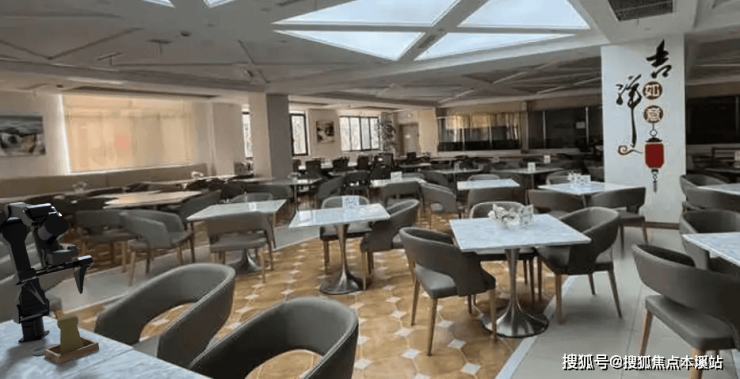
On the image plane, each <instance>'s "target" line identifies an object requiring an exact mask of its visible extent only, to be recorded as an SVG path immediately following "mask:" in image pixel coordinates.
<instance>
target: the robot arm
mask: <svg viewBox="0 0 740 379" xmlns="http://www.w3.org/2000/svg"><path fill="white" fill-rule="evenodd" d="M69 226H70V225H69V222H68V220H66V218H64V217H63V215H62V214H61V213H60V212H59V211H57V209H56V208H55V207H54V206H53V205H52V204H51V203H48V202H47V203H43V204H42V203H41V204H40V203H39V204H35V205H34V204H29V203H26V202H11V203H7V204H4V207H3V210H1V211H0V242H1V243H2V244H4V245H5V246H6V248H7V250H8V251H7V252H8V254H9V258H10V263H11V265H12V270H13V276H12V282H13V285H14V286H16V287H17V294H16V296H15V298H14V307H13V310H12V313H11V314H12V315H11V318H12V321H13V323H15V324H17V325H20V326H21V334H22V337H21V338H20V339H18V341H17V342H18V343H23V342H31V341H37V340H38V341H39V340H41V339H43V338H44V337H45V336H46V335H48V334H49V333H50V330H49V329H48V330H45V324H44V323H45V322H44V318H43V317H48V316H50V311H51V310H50V304H51V301H50V300H49V299H48V297H47V296H46V293H45V290H44V289H43V288H42V286H41V284H40V277H43V276H47V275H50V274H55V273H60V272H64V271H67V270H74V271H73V273H72V274H73V278H74V281H75V284H76V287H77V291H78V293H79V294H80V295H82V294H83V293H84V282H85V276H86V272H87V270H89V269H90V268H91V266H93V265H95V259H94V258H93V256H91V255H90V254H89V255H85V256H80V254H79V249H78V246H77V245H76V244H72V245H68V246H67V248H66V249H64V246H63V245H62V244H61V243H60V239H61V237H63V236H64V235H65V234H66V232H68V230H69V228H70V227H69ZM30 227H34V228H33V231H32V232H31V238H32V240H33V243H34V246H35V250H36V257H37V258H38V259H39V263H40V266H41V267H40V269H35V267H32V265H31V262H30V261H31V260H30V257H29V253H28V249H27V246H26V240H27V237H28V235H29V228H30ZM76 257H77V258H76ZM73 258H75V259H74V260H73Z"/></svg>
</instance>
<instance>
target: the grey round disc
mask: <svg viewBox="0 0 740 379" xmlns="http://www.w3.org/2000/svg"><path fill="white" fill-rule="evenodd" d="M59 344H60V343H51V344H47V345H46V344H45V345H43V346H40V347H37V348H36V349H34V350H33V351H32V355H33V356H37V357H38V356H39V357H40V356H45V353H44V350H45V349H47V348H50V347H53V346H56V345H59Z"/></svg>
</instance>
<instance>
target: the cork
mask: <svg viewBox="0 0 740 379" xmlns="http://www.w3.org/2000/svg"><path fill="white" fill-rule="evenodd" d="M56 325H57V328H58V329H59V330H60V333H59V334H60V335H59V336H60V337H59V338H60V339H59V342H60V343H59V344H60V352H59V355H64V354H67V353H69V352H72V351H75V350H77V349H80V348H83V347H85V345H84V344H83V343H82V340H81V337H82V336H81V334H80V330H79V327H78V325H79V317H78V315H77V314H72V313H71V314H66V315H63V316H61V317H59V318H58V319H57V322H56Z"/></svg>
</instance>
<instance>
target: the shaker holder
mask: <svg viewBox="0 0 740 379" xmlns="http://www.w3.org/2000/svg"><path fill="white" fill-rule="evenodd" d="M80 337H81V340H82V343H83V346H84V347H83V348H80V349H77V350H75V351H72V352H69V353H67V354H64V355H60V343H58V344H59V345H56V346H53V347H50V348H47V349H45V350H44V353H45V355H44V356H45V357H46V358H47V359H50V360H52V361H54V362H56V363H57V364H60V365H61V364H64V363H66V362H70V361H72V360H74V359H77V358H80V357H82V356H85V355H87V354H90V353H93V352H96V351H98V350H100V344H99V342H98V341H96V340H93V339H90V338H89V337H86V336H80Z"/></svg>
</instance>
